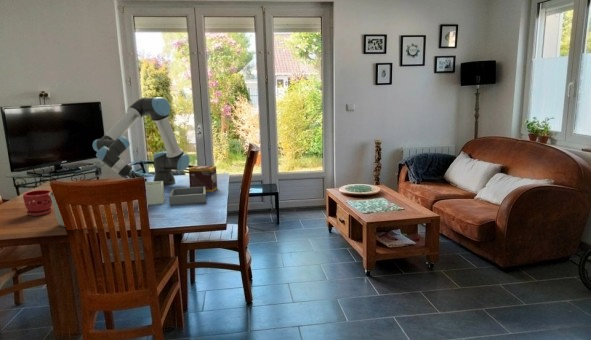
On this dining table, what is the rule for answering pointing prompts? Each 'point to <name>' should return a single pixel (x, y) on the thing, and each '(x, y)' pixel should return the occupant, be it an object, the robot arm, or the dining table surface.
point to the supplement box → (203, 177)
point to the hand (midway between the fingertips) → (152, 192)
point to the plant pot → (38, 202)
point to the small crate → (155, 192)
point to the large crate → (187, 196)
